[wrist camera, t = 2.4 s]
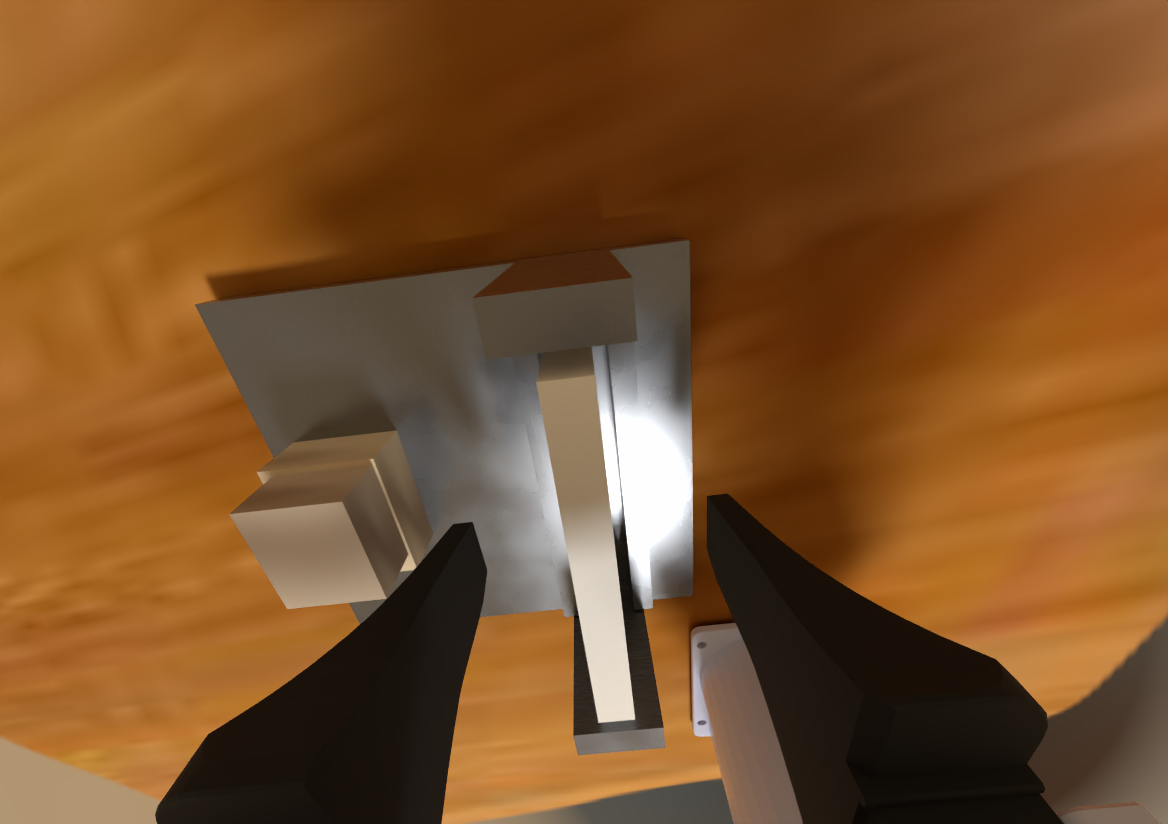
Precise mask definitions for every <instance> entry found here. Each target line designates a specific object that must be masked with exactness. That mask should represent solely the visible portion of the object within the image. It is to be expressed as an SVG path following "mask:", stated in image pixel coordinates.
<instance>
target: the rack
mask: <svg viewBox="0 0 1168 824" xmlns="http://www.w3.org/2000/svg"><path fill="white" fill-rule="evenodd" d="M195 306H196V308H197V310H198V312H199V313H200V315H201V317H202V319H203V321H204V323H205V325H206V327H207V329H208V331H209V333H210V335H211V337H212V339H213V341H214V342H215V344H216V346H217V348H218V350H219V352H220V354H221V356H222V358H223V360H224V362H225V364H226V366H227V368H228V370H229V372H230V373H231V375H232V377H233V379H234V381H235V383H236V385H237V387H238V389H239V391H240V393H241V395H242V397H243V399H244V401H245V403H246V404H247V406H248V408H249V410H250V412H251V414H252V416H253V418H254V420H255V422H256V424H257V426H258V428H259V430H260V432H261V433H262V435H263V437H264V439H265V441H266V443H267V445H268V447H269V449H270V451H271V453H272V455H273V457H274V458H275V457H276V456H277V455H279V454H280V453H281V452H282V451H283V450H285V449H286V448H287V447H288V446H290V445H291V444H292V443H293V442H302V441H310V440H319V439H327V438H336V437H345V436H353V435H362V434H370V433H379V432H387V431H396V430H397V433H398V435H399V438H400V441H401V444H402V447H403V449H404V452H405V455H406V458H407V461H408V463H409V466H410V469H411V472H412V475H413V477H414V480H415V483H416V486H417V489H418V492H419V494H420V497H421V500H422V503H423V506H424V508H425V511H426V514H427V517H428V520H429V522H430V525H431V528H432V531H433V536H432V538H431V540H430V542H429V545H428V547H427V549H426V551H425V554H424V556H423V558H422V560H423V559H424V558H425V557H426V555H427V554H428V553H429V552H430V551H431V550H432V548H433V547H434V546H435V545H436V544H437V542H438V541H439V540H440V539H441V538H442V537H443V535H444V534H445V533H446V532H447V531H448V529H449V528H450V527H451V526H452V525H453V524H457V523H466V522H473V524H474V528H475V531H476V534H477V538H478V541H479V544H480V548H481V551H482V554H483V557H484V561H485V564H486V567H487V578H486V587H485V594H484V601H483V606H482V610H481V614H480V617H485V616H495V615H505V614H515V613H525V612H535V611H545V610H556V609H563V611H564V616H565V617H569V616H574V740H575V744H576V748H577V753H578V755H587V754H598V753H610V752H621V751H633V750H645V749H656V748H665V741H664V727H663V721H662V715H661V709H660V704H659V698H658V692H657V686H656V680H655V674H654V668H653V662H652V656H651V650H650V645H649V639H648V633H647V627H646V621H645V615H644V609H650V608H653V601H652V600H656V599H666V598H676V597H686V596H694V576H693V486H692V395H691V305H690V240H688V239H684V238H680V239H673V240H665V241H657V242H650V243H642V244H634V245H627V246H619V247H611V248H604V249H596V250H588V251H581V252H573V253H566V254H558V255H550V256H543V257H535V258H527V259H520V260H512V261H504V262H497V263H489V264H482V265H474V266H466V267H459V268H451V269H443V270H436V271H428V272H420V273H413V274H405V275H398V276H390V277H382V278H375V279H367V280H359V281H352V282H344V283H336V284H329V285H321V286H313V287H306V288H298V289H291V290H283V291H275V292H268V293H260V294H252V295H245V296H237V297H229V298H222V299H216V300H212V301H208V302H204V303H200V304H196V305H195ZM585 347H592V353H593V362H594V371H595V379H596V388H597V396H598V405H599V413H600V422H601V430H602V439H603V448H604V456H605V465H606V473H607V482H608V490H609V499H610V507H611V516H612V525H613V533H614V542H615V550H616V559H617V567H618V576H619V585H620V593H621V602H622V610H623V619H624V628H625V636H626V645H627V653H628V662H629V671H630V679H631V688H632V696H633V705H634V714H635V720H625V721H614V722H603V723H598V717H597V712H596V706H595V701H594V695H593V690H592V685H591V679H590V674H589V668H588V663H587V657H586V652H585V646H584V641H583V635H582V630H581V624H580V619H579V614H578V608H577V603H576V597H575V592H574V586H573V581H572V575H571V570H570V564H569V559H568V553H567V548H566V542H565V537H564V532H563V526H562V521H561V515H560V510H559V504H558V499H557V493H556V488H555V482H554V477H553V471H552V466H551V460H550V455H549V450H548V444H547V439H546V433H545V428H544V422H543V417H542V411H541V406H540V400H539V395H538V389H537V384H536V381H537V377H538V373H539V368H540V364H541V360H542V356H543V353H544V352H552V351H561V350H569V349H577V348H585ZM422 560H421V561H422ZM412 572H413V570H409V571H400V573H399V575H398V577H397V579H396V581H395V583H394V585H393V587H392V589H391V591H390V593H389V595H388V597H389V596H390V595H391V594H392V593H393V592H394V591H395V590H396V589H397V588H398V587H399V586H400V585H401V584H402V582H403V581H404V580H405V579H406V578H407V577H408V576H409V575H410V574H411V573H412ZM388 597H387V598H388ZM385 600H386V599H380V600H370V601H360V602H350V603H349V604H350V606H351V608H352V610H353V612H354V614H355V615H356V617H357V619H358V621H359V623H360V624H361V623H362V622H363V621H365V620H366V619H367V618H368V617H369V616H370V615H371V614H372V613H373V612H374V611H375V610H376V609H377V608H378V607H379V606H380V605H381V604H382V603H383V602H384V601H385Z"/></svg>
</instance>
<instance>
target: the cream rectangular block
mask: <svg viewBox="0 0 1168 824" xmlns="http://www.w3.org/2000/svg"><path fill="white" fill-rule="evenodd" d="M536 384H537V389H538V395H539V400H540V406H541V411H542V417H543V422H544V428H545V433H546V439H547V444H548V450H549V455H550V460H551V466H552V471H553V477H554V482H555V488H556V493H557V499H558V504H559V510H560V515H561V521H562V526H563V532H564V537H565V542H566V548H567V553H568V559H569V564H570V570H571V575H572V581H573V586H574V592H575V597H576V603H577V608H578V614H579V619H580V624H581V630H582V635H583V641H584V646H585V652H586V657H587V663H588V668H589V674H590V679H591V685H592V690H593V695H594V701H595V706H596V712H597V717H598V723H603V722H614V721H625V720H635V714H634V705H633V696H632V688H631V679H630V671H629V662H628V653H627V645H626V636H625V628H624V619H623V610H622V602H621V593H620V585H619V576H618V567H617V559H616V550H615V542H614V533H613V525H612V516H611V507H610V499H609V490H608V482H607V473H606V465H605V456H604V448H603V439H602V430H601V422H600V413H599V405H598V396H597V388H596V379H595V371H594V362H593V353H592V347H585V348H577V349H569V350H561V351H552V352H544V353H543V356H542V360H541V364H540V368H539V373H538V377H537V381H536Z"/></svg>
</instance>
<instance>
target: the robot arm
mask: <svg viewBox="0 0 1168 824" xmlns="http://www.w3.org/2000/svg"><path fill="white" fill-rule="evenodd" d="M707 550H708V553H709V557H710V560H711V563H712V567H713V570H714V573H715V576H716V579H717V582H718V584H719V586H720V589H721V591H722V593H723V596H724V598H725V600H726V602H727V605H728V607H729V609H730V612H731V614H732V616H733V618H734V621H735V623H728V624H718V625H708V626H699V627H696V628H694V629H693V630H692V631H691V685H692V728H693V732H694V734H695V735H696V736H699V737H703V736H711V737H712V741H713V744H714V748H715V752H716V756H717V760H718V764H719V768H720V772H721V776H722V779H723V783H724V787H725V791H726V795H727V798H728V803H729V807H730V810H731V814H732V818H733V822H734V824H1161V823H1160V822H1159V821H1158V820H1157V819H1156V818H1155V817H1154V816H1153V814H1151V812H1150V811H1149V810H1148V809H1147V808H1146V807H1145V806H1143V805H1141V804H1138V803H1136V802H1131V803H1118V804H1106V805H1093V806H1081V807H1075V808H1070V809H1067V810H1065V811H1062V812H1060V813H1058V814H1057V815H1056V814H1055V812H1054V811H1053V810H1052V809H1051V807H1050V806H1049V805H1048V804H1047V802H1046V801H1045V800H1044V799H1043V797H1042V796H1041V795H1040V794H1039V793H1043V792H1044V790H1045V788H1044V785H1043V783H1042V782H1041V780H1040V779H1039V778H1038V777H1037V776H1036V774H1035V773H1034V772H1033V771H1032V769H1031V768H1030V767H1029V766H1028V765H1027V763H1028V761H1029V760H1030V758H1031V756H1032V755H1033V753H1034V752H1035V750H1036V748H1037V747H1038V746H1039V744H1040V742H1041V741H1042V739H1043V737H1044V735H1045V733H1046V730H1047V727H1048V721H1047V713H1046V712H1045V711H1044V710H1043V708H1042V707H1041V706H1040V705H1039V704H1038V703H1037V702H1036V700H1035V699H1034V698H1033V697H1032V696H1031V695H1030V694H1029V693H1028V692H1027V691H1026V690H1025V688H1024V687H1023V686H1022V685H1021V684H1020V683H1019V682H1018V681H1017V680H1016V679H1015V678H1014V677H1013V676H1012V675H1011V674H1010V673H1009V672H1008V671H1007V670H1006V669H1005V668H1004V667H1003V666H1002V665H1001V664H1000V663H999V662H998V661H997V660H996V659H994V658H991V657H989V656H987V655H984V654H982V653H979V652H977V651H975V650H972V649H970V648H968V647H965V646H963V645H961V644H958V643H956V642H953V641H951V640H949V639H946V638H944V637H942V636H939V635H937V634H935V633H933V632H931V631H929V630H927V629H925V628H922V627H920V626H918V625H916V624H914V623H912V622H910V621H908V620H906V619H904V618H902V617H900V616H898V615H896V614H894V613H892V612H890V611H888V610H886V609H885V608H883V607H881V606H879V605H877V604H876V603H874V602H872V601H870V600H868V599H867V598H865V597H863V596H861V595H859V594H858V593H856V592H854V591H853V590H851V589H849V588H848V587H846V586H844V585H843V584H841V583H840V582H838V581H836V580H835V579H833V578H832V577H830V576H829V575H827V574H826V573H824V572H823V571H821V570H820V569H818V568H817V567H815V566H814V565H812V564H811V563H809V562H808V561H807V560H805V559H804V558H803V557H801V556H800V555H799V554H797V553H796V552H795V551H793V550H792V549H791V548H790V547H788V546H787V545H786V544H785V543H783V542H782V541H781V540H780V539H778V538H777V537H776V536H775V535H774V534H772V533H771V532H770V531H769V530H768V529H766V528H765V527H764V526H763V525H762V524H761V523H760V522H758V521H757V520H756V519H755V518H754V517H753V516H752V515H751V514H749V513H748V512H747V511H746V510H745V509H744V508H743V507H742V506H741V505H740V504H739V503H737V502H736V501H735V500H734V499H733V498H732V497H731V496H730V495H728V494H721V495H712V496H707ZM486 578H487V567H486V564H485V561H484V557H483V554H482V551H481V548H480V544H479V541H478V538H477V534H476V531H475V528H474V524H473V522H466V523H457V524H453V525H452V526H451V527H450V528H449V529H448V531H447V532H446V533H445V534H444V535H443V537H442V538H441V539H440V540H439V541H438V542H437V544H436V545H435V546H434V547H433V548H432V550H431V551H430V552H429V553H428V554H427V555H426V557H425V558H424V559H423V560H422V561H421V562H420V564H419V565H418V566H417V567H416V568H415V569H414V570H413V572H412V573H411V574H410V575H409V576H408V577H407V578H406V579H405V580H404V581H403V582H402V584H401V585H400V586H399V587H398V588H397V589H396V590H395V591H394V592H393V593H392V594H391V595H390V596H389V597H388V598H387V599H386V600H385V601H384V602H383V603H382V604H381V605H380V606H379V607H378V608H377V609H376V610H375V611H374V612H373V613H372V614H371V615H370V616H369V617H368V618H367V619H366V620H365V621H363V622H362V623H361V624H360V625H359V626H358V627H357V628H356V629H355V630H354V631H352V632H351V633H350V634H349V635H348V636H347V637H345V638H344V639H343V640H342V641H340V642H339V643H338V644H337V645H336V646H334V647H333V648H332V649H331V650H329V651H328V652H327V653H326V654H324V655H323V656H322V657H321V658H320V659H318V660H317V661H316V662H315V663H313V664H312V665H311V666H309V667H308V668H307V669H305V670H304V671H303V672H301V673H300V674H299V675H297V676H296V677H295V678H293V679H292V680H290V681H289V682H288V683H286V684H285V685H283V686H282V687H280V688H279V689H278V690H276V691H275V692H273V693H272V694H270V695H269V696H267V697H266V698H265V699H263V700H262V701H260V702H259V703H257V704H255V705H254V706H252V707H251V708H249V709H248V710H246V711H244V712H243V713H241V714H240V715H238V716H237V717H235V718H234V719H232V720H230V721H229V722H227V723H226V724H224V725H223V726H221V727H219V728H218V729H216V730H214V731H213V732H211V733H210V734H208V735H207V737H206V738H205V740H204V741H203V742H202V744H201V745H200V747H199V748H198V749H197V751H196V752H195V754H194V755H193V757H192V758H191V759H190V761H189V762H188V764H187V765H186V767H185V768H184V769H183V771H182V772H181V774H180V775H179V777H178V778H177V779H176V781H175V782H174V784H173V785H172V787H171V788H170V789H169V791H168V792H167V794H166V795H165V797H164V798H163V800H162V801H161V802H160V804H159V805H158V808H157V811H156V814H155V816H156V821H157V824H441V822H442V814H443V806H444V798H445V790H446V783H447V775H448V768H449V761H450V754H451V747H452V740H453V734H454V727H455V721H456V715H457V709H458V703H459V697H460V692H461V688H462V683H463V679H464V675H465V671H466V667H467V663H468V660H469V656H470V652H471V648H472V644H473V641H474V637H475V633H476V629H477V625H478V621H479V618H480V614H481V610H482V606H483V601H484V594H485V587H486Z"/></svg>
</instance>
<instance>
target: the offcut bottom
mask: <svg viewBox="0 0 1168 824" xmlns="http://www.w3.org/2000/svg"><path fill="white" fill-rule="evenodd" d="M370 464H373V467H374V469H375V472H376V474H377V477H378V479H379V482H380V484H381V487H382V489H383V492H384V494H385V497H386V499H387V502H388V504H389V507H390V509H391V512H392V514H393V517H394V519H395V522H396V524H397V527H398V529H399V532H400V534H401V537H402V539H403V542H404V544H405V547H406V549H407V552H408V556H407V558H406V560H405V562H404V564H403V566H402V569H401V571H409V570H414V569H415V568H416V567H417V566H418V565H419V564H420V562H421V560H422V558H423V556H424V554H425V551H426V549H427V547H428V545H429V542H430V540H431V538H432V536H433V531H432V528H431V525H430V522H429V520H428V517H427V514H426V511H425V508H424V506H423V503H422V500H421V497H420V494H419V492H418V489H417V486H416V483H415V480H414V477H413V475H412V472H411V469H410V466H409V463H408V461H407V458H406V455H405V452H404V449H403V447H402V444H401V441H400V438H399V435H398V433H397V430H396V431H387V432H379V433H370V434H362V435H353V436H345V437H336V438H327V439H319V440H310V441H302V442H293V443H292V444H291V445H290V446H288V447H287V448H286V449H285V450H283V451H282V452H281V453H280V454H279V455H277V456H276V457H275V458H274V459H272V460H271V461H270V462H269V463H267V464H266V465H265V466H264V467H263V468H261V469H260V470H259V471H258V472H257V473H258V475H259V477H260V479H261V481H262V483H263V484H265V483H266V482H267V481H268V480H269V479H270V478H272V477H273V476H274V475H283V474H291V473H300V472H309V471H318V470H326V469H335V468H344V467H353V466H361V465H370Z"/></svg>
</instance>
